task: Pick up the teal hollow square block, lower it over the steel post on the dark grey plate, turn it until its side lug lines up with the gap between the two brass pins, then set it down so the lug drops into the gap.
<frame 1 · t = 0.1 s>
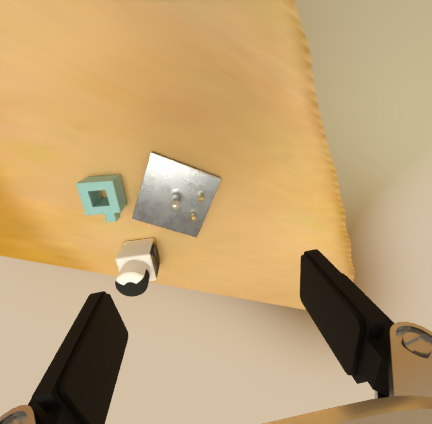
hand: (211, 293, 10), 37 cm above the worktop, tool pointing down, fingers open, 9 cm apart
teal hollow square block: (108, 190, 45), on the worktop
post base: (176, 196, 47), on the worktop
medicine bottle: (143, 251, 52), on the worktop
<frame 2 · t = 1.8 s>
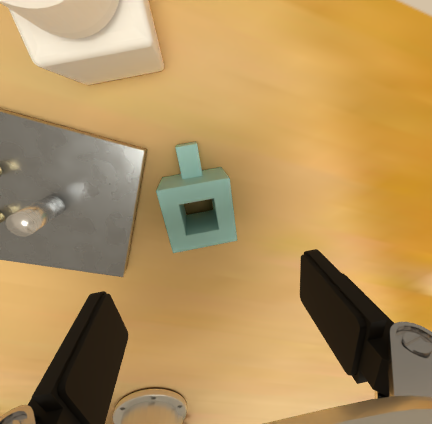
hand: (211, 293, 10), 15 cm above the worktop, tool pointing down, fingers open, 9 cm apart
teal hollow square block: (197, 199, 24), on the worktop
post base: (61, 200, 22), on the worktop
medicine bottle: (111, 30, 18), on the worktop
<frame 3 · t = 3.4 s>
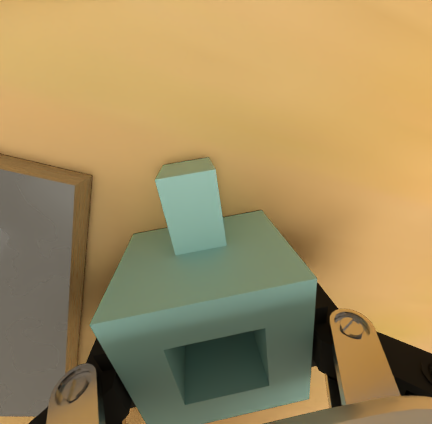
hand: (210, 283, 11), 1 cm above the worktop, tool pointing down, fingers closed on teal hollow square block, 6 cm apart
teal hollow square block: (208, 272, 12), on the worktop, touching gripper
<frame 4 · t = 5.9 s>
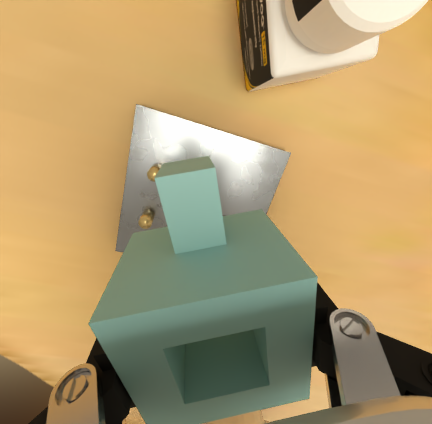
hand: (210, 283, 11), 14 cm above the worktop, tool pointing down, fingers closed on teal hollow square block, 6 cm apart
teal hollow square block: (208, 271, 12), point 13 cm above the worktop, touching gripper
post base: (198, 199, 23), on the worktop
medicine bottle: (278, 40, 19), on the worktop
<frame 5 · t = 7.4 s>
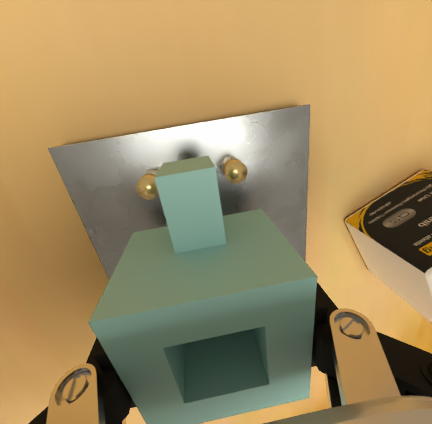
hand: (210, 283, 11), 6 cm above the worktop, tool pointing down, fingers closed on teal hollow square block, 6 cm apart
teal hollow square block: (208, 271, 12), point 5 cm above the worktop, touching gripper
post base: (203, 228, 16), on the worktop
medicine bottle: (390, 223, 19), on the worktop
when the fingers open (3 cm above the worktop, at t = 8.6 s): teal hollow square block stays where it is, resting on post base.
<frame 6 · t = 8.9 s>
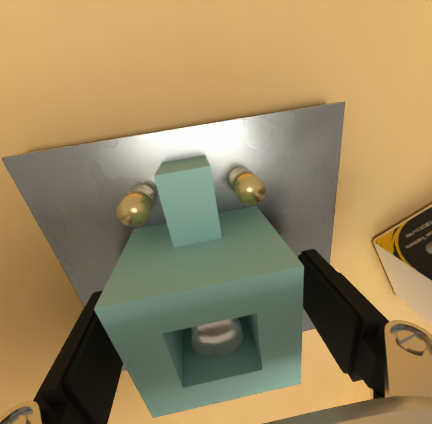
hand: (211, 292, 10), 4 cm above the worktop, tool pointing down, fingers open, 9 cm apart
teal hollow square block: (206, 266, 12), point 1 cm above the worktop, touching post base
post base: (205, 251, 14), on the worktop
medicine bottle: (424, 243, 16), on the worktop
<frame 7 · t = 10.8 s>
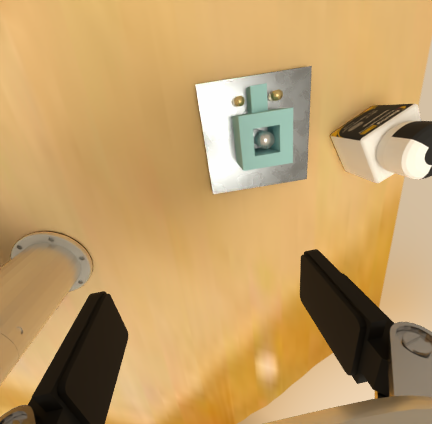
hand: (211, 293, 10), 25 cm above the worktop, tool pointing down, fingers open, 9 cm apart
teal hollow square block: (256, 136, 30), point 1 cm above the worktop, touching post base
post base: (254, 135, 31), on the worktop
medicine bottle: (357, 140, 33), on the worktop
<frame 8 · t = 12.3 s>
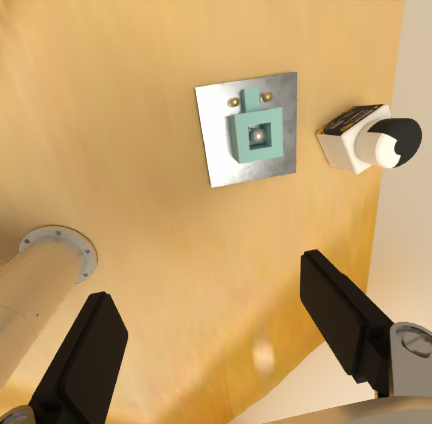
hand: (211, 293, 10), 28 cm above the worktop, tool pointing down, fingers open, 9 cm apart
teal hollow square block: (250, 134, 33), point 1 cm above the worktop, touching post base
post base: (248, 133, 35), on the worktop
medicine bottle: (339, 137, 37), on the worktop
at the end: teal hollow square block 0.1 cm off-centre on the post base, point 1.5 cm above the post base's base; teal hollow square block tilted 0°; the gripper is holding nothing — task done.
